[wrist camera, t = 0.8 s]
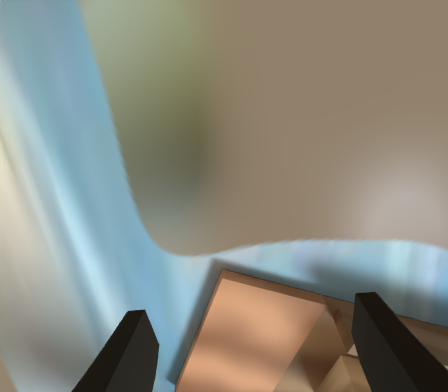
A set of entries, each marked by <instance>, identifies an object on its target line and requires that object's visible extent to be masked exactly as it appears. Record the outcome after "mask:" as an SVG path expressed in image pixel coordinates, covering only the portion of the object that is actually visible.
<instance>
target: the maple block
mask: <svg viewBox="0 0 448 392" xmlns="http://www.w3.org/2000/svg"><path fill="white" fill-rule="evenodd" d="M315 392H371V389H370V387H369V384H368V382H367V379H366V377H365V374H364V372H363V369H362V367H361V364H360V361H359V359H355V358H351V357H347V356H342V355H341V356H340V357H339V359H338V360H337V361H336V363H335V364H334V366H333V367H332V368H331V370H330V371H329V373H328V374H327V375H326V377H325V378H324V380H323V381H322V382H321V384H320V385H319V387H318V388H317V389H316V391H315Z"/></svg>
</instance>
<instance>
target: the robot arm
mask: <svg viewBox="0 0 448 392" xmlns="http://www.w3.org/2000/svg"><path fill="white" fill-rule="evenodd" d="M351 333H352V337H353V340H354V344H355V348H356V351H357V354H358V358H359V361H360V364H361V367H362V369H363V372H364V374H365V377H366V379H367V382H368V384H369V387H370V389H371V392H448V369H447V368H446V367H445V366H444V365H443V364H442V363H441V362H440V361H439V360H438V359H437V358H436V357H435V356H434V355H433V354H432V353H431V352H430V351H429V350H428V349H427V348H426V347H425V346H424V345H423V344H422V343H421V342H420V341H419V340H418V339H417V338H416V337H415V336H414V334H413V333H412V332H411V331H410V330H409V329H408V328H407V327H406V326H405V325H404V324H403V323H402V321H401V320H400V319H399V318H398V317H397V316H396V315H395V314H394V312H393V311H392V310H391V309H390V308H389V307H388V306H387V304H386V303H385V302H384V301H383V300H382V299H381V297H380V296H379V295H378V294H377V293H376V292H368V293H356V295H355V304H354V312H353V321H352V329H351ZM158 352H159V343H158V341H157V338H156V336H155V333H154V331H153V328H152V326H151V323H150V321H149V318H148V316H147V313H146V311H145V310H134V311H128V312H127V313H126V314H125V316H124V317H123V319H122V320H121V322H120V323H119V325H118V326H117V328H116V329H115V331H114V332H113V334H112V335H111V337H110V338H109V340H108V341H107V343H106V344H105V346H104V347H103V349H102V350H101V352H100V353H99V355H98V356H97V357H96V359H95V360H94V362H93V363H92V364H91V366H90V367H89V369H88V370H87V372H86V373H85V374H84V376H83V377H82V378H81V380H80V381H79V382H78V384H77V385H76V386H75V388H74V389H73V390H72V392H152V390H153V385H154V381H155V376H156V369H157V361H158Z"/></svg>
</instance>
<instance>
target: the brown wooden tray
mask: <svg viewBox="0 0 448 392" xmlns="http://www.w3.org/2000/svg"><path fill="white" fill-rule="evenodd" d="M353 312H354V303H350V302H346V301H342V300H339V299H335V298H331V297H327V296H323V295H319V294H316V293H312V292H308V291H304V290H300V289H296V288H293V287H289V286H285V285H281V284H277V283H274V282H270V281H266V280H262V279H258V278H254V277H251V276H247V275H243V274H239V273H235V272H231V271H228V270H224V269H222V272H221V274H220V276H219V279H218V281H217V284H216V286H215V289H214V291H213V294H212V296H211V299H210V301H209V304H208V306H207V309H206V311H205V314H204V316H203V318H202V321H201V323H200V326H199V328H198V331H197V333H196V336H195V338H194V341H193V343H192V346H191V348H190V351H189V353H188V356H187V358H186V360H185V363H184V365H183V368H182V370H181V373H180V375H179V378H178V380H177V383H176V385H175V391H174V392H315V391H316V389H317V388H318V387H319V385H320V384H321V382H322V381H323V380H324V378H325V377H326V375H327V374H328V373H329V371H330V370H331V368H332V367H333V366H334V364H335V363H336V361H337V360H338V359H339V357H340V356H341V355H342V356H347V357H351V358H355V359H359V358H358V354H357V351H356V348H355V344H354V340H353V337H352V333H351V329H352V321H353ZM395 315H396V314H395ZM396 316H397V317H398V318H399V319H400V320H401V321H402V323H403V324H404V325H405V326H406V327H407V328H408V329H409V330H410V331H411V332H412V333H413V334H414V336H415V337H416V338H417V339H418V340H419V341H420V342H421V343H422V344H423V345H424V346H425V347H426V348H427V349H428V350H429V351H430V352H431V353H432V354H433V355H434V356H435V357H436V358H437V359H438V360H439V361H440V362H441V363H442V364H443V365H444V366H445V367H446V368H447V369H448V328H446V327H442V326H438V325H434V324H430V323H427V322H423V321H419V320H415V319H411V318H407V317H404V316H400V315H396Z"/></svg>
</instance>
